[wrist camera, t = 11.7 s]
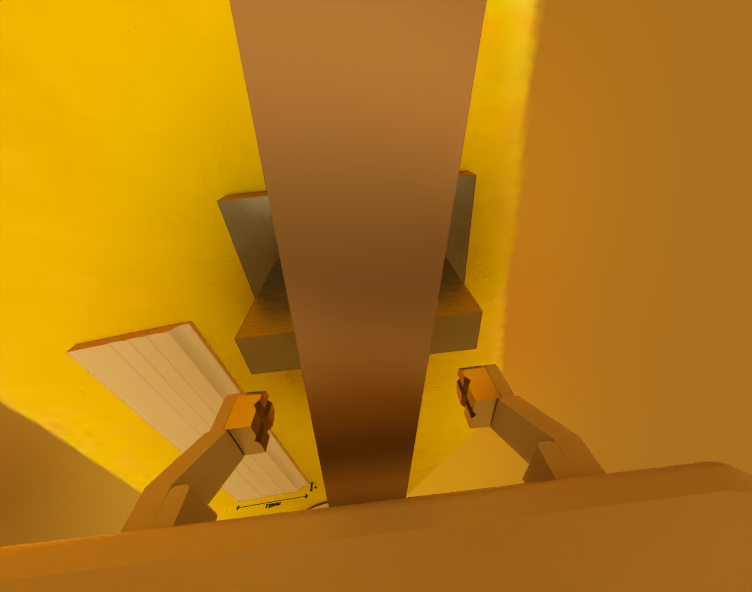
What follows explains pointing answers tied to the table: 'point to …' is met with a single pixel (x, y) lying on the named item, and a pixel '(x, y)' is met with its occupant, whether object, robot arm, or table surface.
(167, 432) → the baseboard molding
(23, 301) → the table surface
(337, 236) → the walnut beam
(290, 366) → the ridge stand
